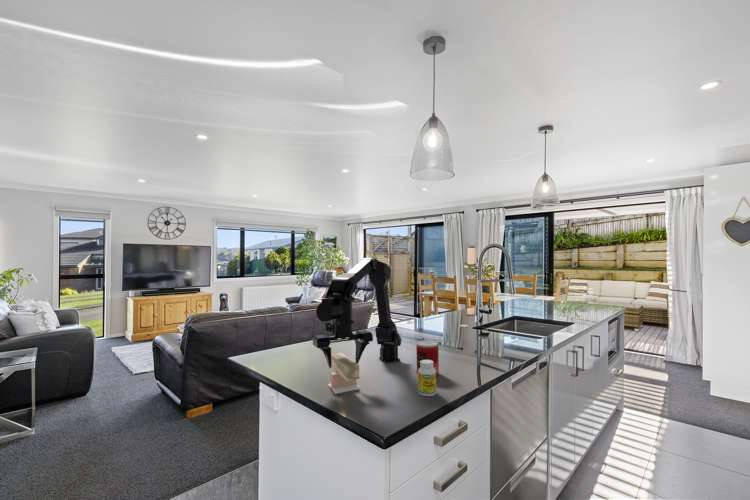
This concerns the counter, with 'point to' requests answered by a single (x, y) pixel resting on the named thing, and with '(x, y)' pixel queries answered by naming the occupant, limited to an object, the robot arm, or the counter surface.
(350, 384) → the fulcrum
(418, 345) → the canned food
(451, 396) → the counter surface
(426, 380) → the supplement bottle
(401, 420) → the counter surface
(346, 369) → the beam
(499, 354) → the counter surface
